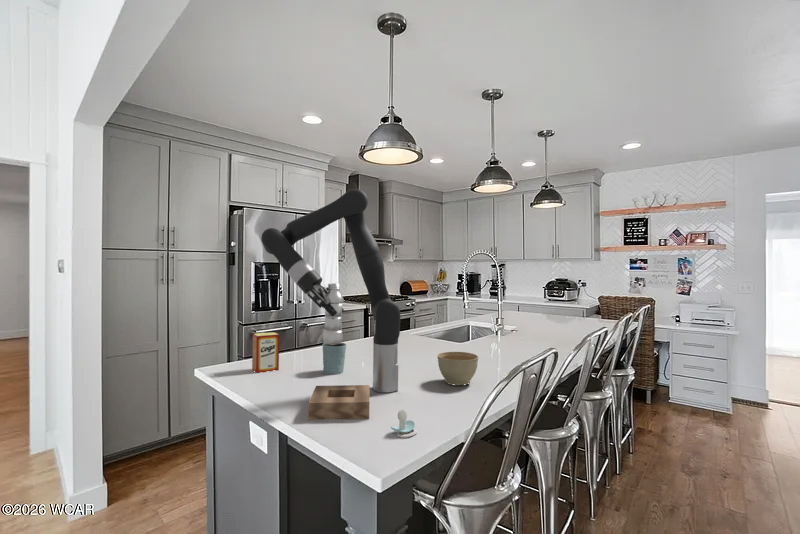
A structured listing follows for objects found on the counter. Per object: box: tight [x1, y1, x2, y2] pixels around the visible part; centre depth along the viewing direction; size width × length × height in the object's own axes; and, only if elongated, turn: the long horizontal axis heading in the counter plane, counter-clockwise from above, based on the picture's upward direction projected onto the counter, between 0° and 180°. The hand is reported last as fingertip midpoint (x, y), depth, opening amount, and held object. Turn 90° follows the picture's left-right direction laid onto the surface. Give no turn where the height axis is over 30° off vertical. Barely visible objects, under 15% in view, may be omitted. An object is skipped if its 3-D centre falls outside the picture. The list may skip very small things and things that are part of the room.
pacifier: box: [390, 409, 418, 439], centre depth 107 cm, size 7×6×6 cm
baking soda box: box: [251, 332, 280, 374], centre depth 171 cm, size 10×6×16 cm
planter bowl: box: [437, 351, 479, 386], centre depth 155 cm, size 16×16×11 cm
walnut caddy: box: [307, 384, 370, 421], centre depth 125 cm, size 18×17×5 cm
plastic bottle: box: [322, 283, 345, 345], centre depth 129 cm, size 6×7×20 cm
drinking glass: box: [322, 342, 347, 375], centre depth 169 cm, size 10×10×12 cm
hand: (338, 313), depth 128 cm, fingers closed on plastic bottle, 6 cm apart
